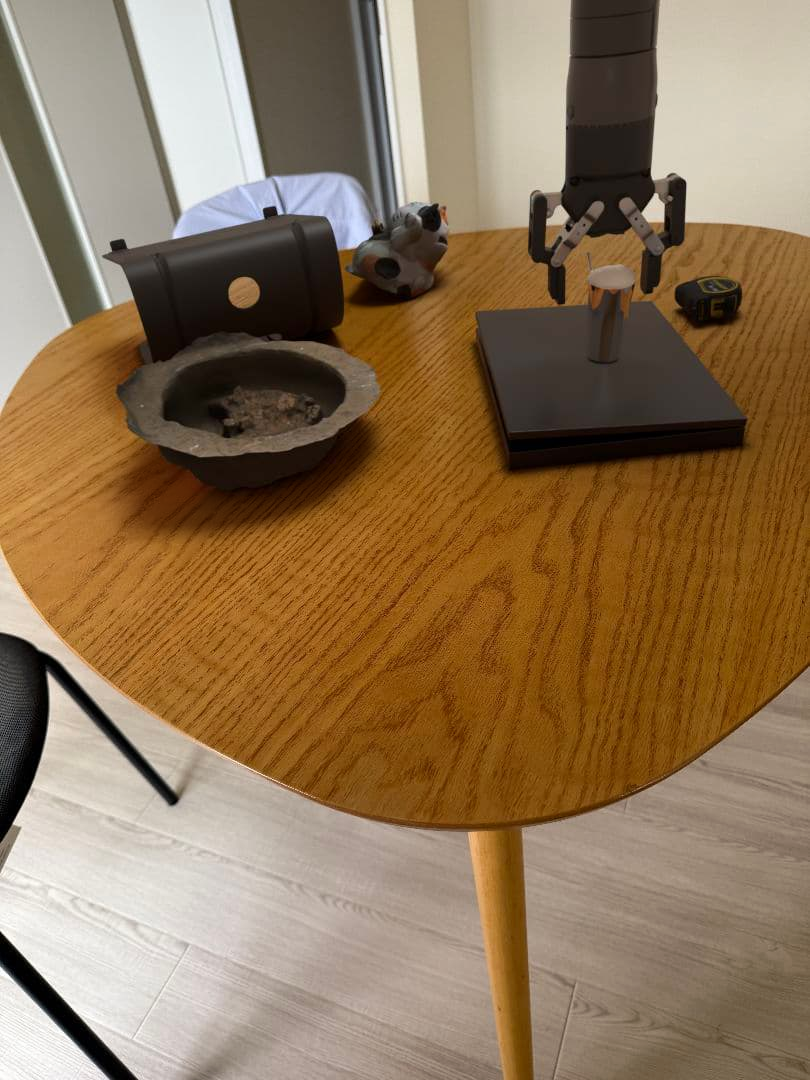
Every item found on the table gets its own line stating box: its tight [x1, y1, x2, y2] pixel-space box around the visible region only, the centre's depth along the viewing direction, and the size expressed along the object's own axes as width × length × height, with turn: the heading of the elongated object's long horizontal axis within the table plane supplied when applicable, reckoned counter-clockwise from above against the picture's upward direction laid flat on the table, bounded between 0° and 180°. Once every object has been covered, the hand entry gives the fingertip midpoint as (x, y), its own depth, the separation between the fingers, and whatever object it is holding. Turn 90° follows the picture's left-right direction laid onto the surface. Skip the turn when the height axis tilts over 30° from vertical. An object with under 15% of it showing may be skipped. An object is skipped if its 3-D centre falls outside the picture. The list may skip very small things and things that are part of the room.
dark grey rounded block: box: [101, 205, 345, 365], centre depth 98 cm, size 26×24×16 cm
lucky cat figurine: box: [344, 200, 450, 299], centre depth 111 cm, size 15×12×14 cm
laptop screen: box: [474, 300, 748, 440], centre depth 81 cm, size 21×30×1 cm
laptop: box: [475, 327, 746, 471], centre depth 82 cm, size 21×30×2 cm
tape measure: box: [674, 275, 743, 322], centre depth 93 cm, size 7×7×4 cm
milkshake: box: [585, 251, 637, 363], centre depth 78 cm, size 5×5×10 cm
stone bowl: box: [115, 332, 382, 491], centre depth 77 cm, size 25×25×9 cm
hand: (602, 296), depth 77 cm, fingers open, 8 cm apart
